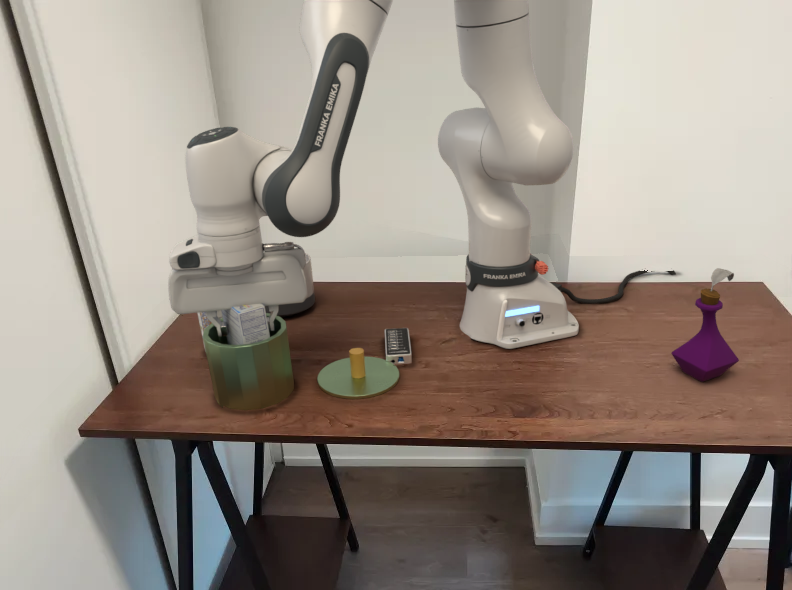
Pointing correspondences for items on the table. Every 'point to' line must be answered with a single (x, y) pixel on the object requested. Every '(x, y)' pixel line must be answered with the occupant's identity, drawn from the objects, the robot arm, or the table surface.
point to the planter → (309, 301)
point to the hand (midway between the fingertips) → (246, 332)
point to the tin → (250, 369)
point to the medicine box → (246, 324)
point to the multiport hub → (398, 346)
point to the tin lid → (358, 376)
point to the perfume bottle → (707, 338)
